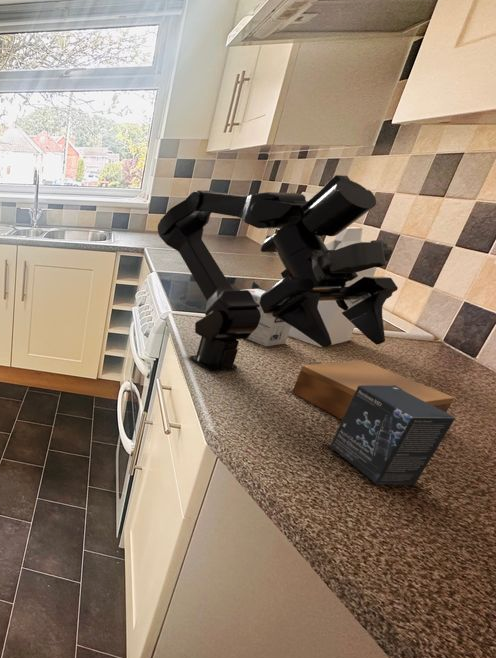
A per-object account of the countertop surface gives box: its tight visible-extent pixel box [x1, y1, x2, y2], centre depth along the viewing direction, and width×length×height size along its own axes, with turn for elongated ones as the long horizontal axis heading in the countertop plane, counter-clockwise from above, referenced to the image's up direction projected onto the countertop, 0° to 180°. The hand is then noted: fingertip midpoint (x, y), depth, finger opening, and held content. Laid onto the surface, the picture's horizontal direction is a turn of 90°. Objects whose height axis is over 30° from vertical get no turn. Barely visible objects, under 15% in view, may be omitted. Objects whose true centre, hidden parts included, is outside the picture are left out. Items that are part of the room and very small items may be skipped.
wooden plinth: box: [291, 359, 455, 420], centre depth 70 cm, size 14×14×6 cm
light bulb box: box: [246, 288, 291, 347], centre depth 99 cm, size 11×7×11 cm, turn 22°
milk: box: [287, 226, 378, 348], centre depth 99 cm, size 12×12×26 cm
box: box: [329, 385, 456, 485], centre depth 55 cm, size 8×6×11 cm
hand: (354, 344), depth 59 cm, fingers open, 9 cm apart
